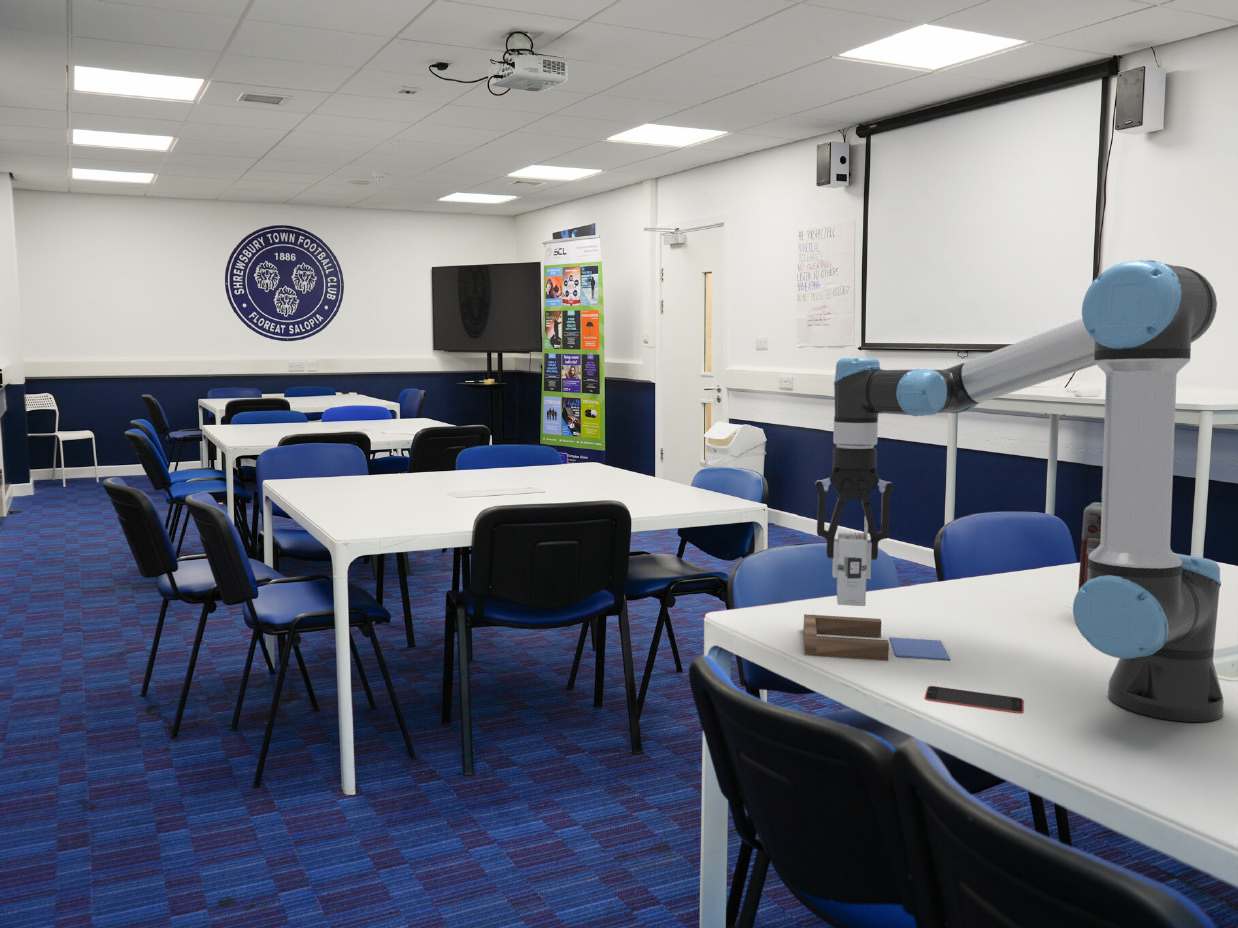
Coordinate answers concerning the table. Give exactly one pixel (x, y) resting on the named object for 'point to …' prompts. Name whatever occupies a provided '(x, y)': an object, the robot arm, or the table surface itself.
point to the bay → (842, 644)
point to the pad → (919, 648)
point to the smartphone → (975, 699)
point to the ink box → (852, 567)
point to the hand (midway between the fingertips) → (851, 576)
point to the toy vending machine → (1089, 537)
